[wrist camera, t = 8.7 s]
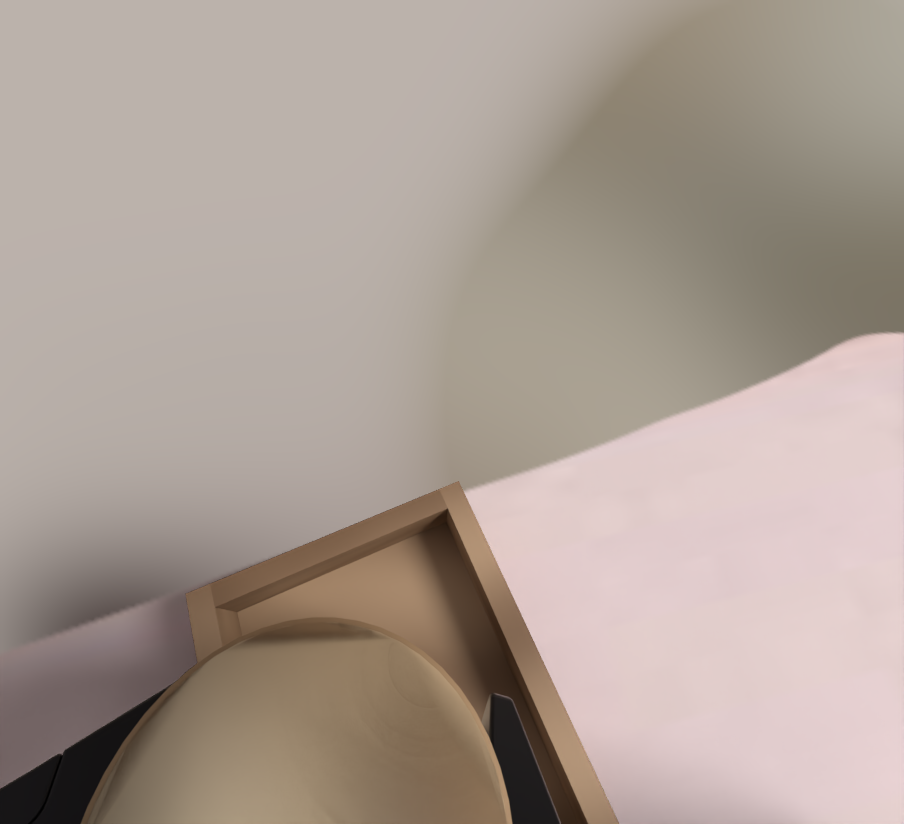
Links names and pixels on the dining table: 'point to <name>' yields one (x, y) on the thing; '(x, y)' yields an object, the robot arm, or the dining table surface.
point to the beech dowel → (307, 738)
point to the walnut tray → (418, 620)
